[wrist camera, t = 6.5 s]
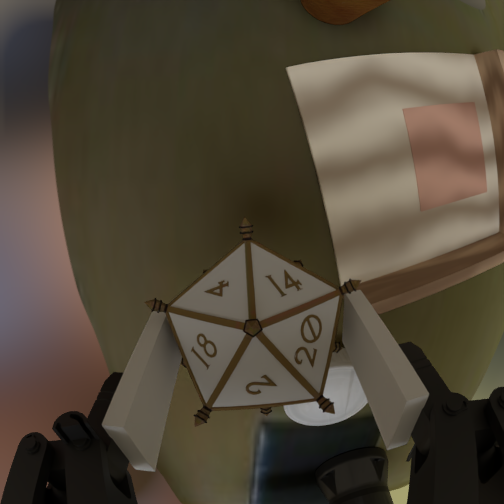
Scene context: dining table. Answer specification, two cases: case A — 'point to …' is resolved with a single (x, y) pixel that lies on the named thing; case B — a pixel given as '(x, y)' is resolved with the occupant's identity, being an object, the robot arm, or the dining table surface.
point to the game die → (256, 330)
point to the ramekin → (333, 395)
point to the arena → (408, 167)
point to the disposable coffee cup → (339, 9)
